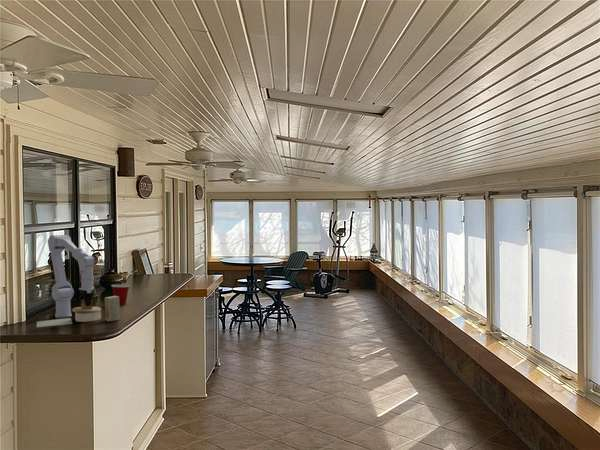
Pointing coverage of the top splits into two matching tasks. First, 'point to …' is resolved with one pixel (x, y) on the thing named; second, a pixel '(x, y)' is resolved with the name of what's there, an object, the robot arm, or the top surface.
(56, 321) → the mat
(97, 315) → the bowl
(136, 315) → the top surface
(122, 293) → the plastic cup
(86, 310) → the lid
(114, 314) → the skincare box
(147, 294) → the top surface
